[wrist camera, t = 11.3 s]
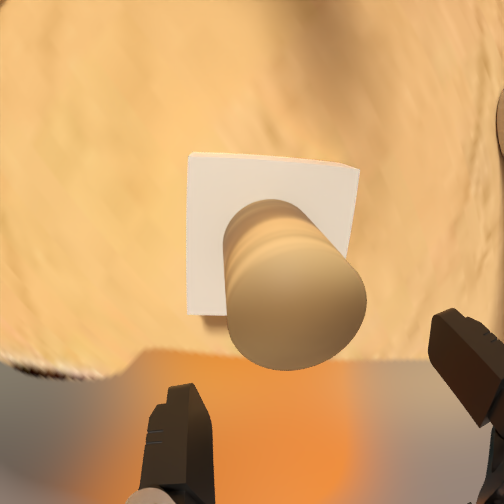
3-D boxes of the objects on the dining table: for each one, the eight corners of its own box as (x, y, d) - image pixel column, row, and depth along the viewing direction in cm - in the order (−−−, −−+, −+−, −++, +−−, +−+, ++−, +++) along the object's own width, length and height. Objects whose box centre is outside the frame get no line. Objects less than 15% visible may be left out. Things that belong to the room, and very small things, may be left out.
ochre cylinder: (224, 197, 16) (230, 248, 10) (320, 202, 17) (380, 252, 10) (221, 285, 18) (225, 372, 12) (307, 286, 19) (349, 366, 12)
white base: (192, 151, 18) (188, 156, 15) (340, 162, 19) (360, 169, 16) (190, 290, 21) (187, 314, 18) (320, 291, 22) (334, 314, 20)
